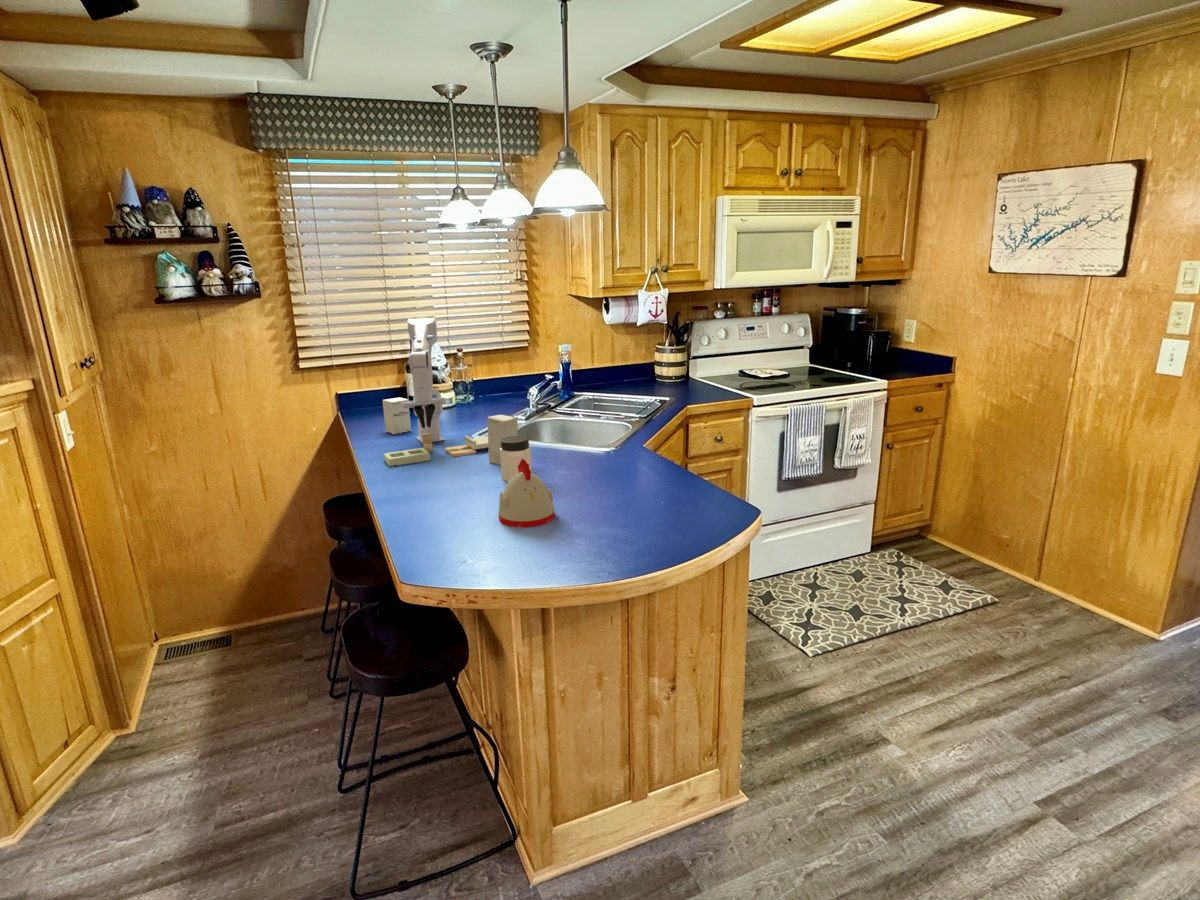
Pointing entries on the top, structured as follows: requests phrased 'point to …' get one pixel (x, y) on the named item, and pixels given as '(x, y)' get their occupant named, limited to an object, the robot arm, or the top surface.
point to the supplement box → (396, 416)
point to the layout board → (460, 450)
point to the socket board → (406, 456)
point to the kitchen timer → (525, 500)
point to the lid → (476, 442)
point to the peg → (427, 442)
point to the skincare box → (499, 434)
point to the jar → (514, 455)
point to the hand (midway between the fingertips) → (426, 427)
